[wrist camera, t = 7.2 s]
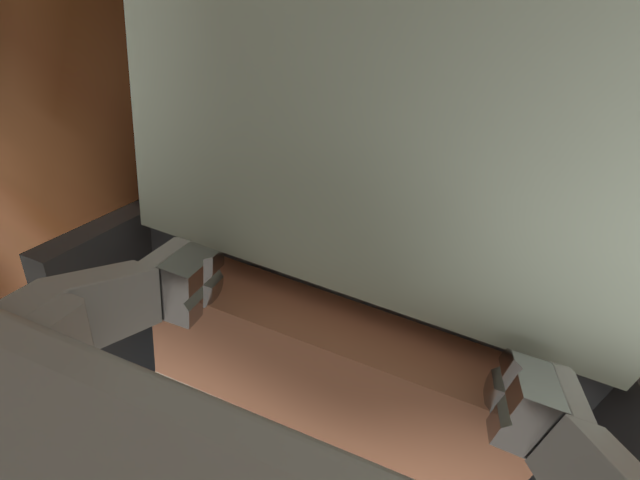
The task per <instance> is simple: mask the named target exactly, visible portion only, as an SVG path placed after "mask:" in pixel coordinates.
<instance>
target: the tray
mask: <svg viewBox="0 0 640 480" xmlns="http://www.w3.org/2000/svg"><path fill="white" fill-rule="evenodd" d="M174 237H176V236H173V235H170V234H167V233H165V232H162V231H159V230H156V229H153V228H150V227H147V226H144V225H141V217H140V204H139V200H137V201H135V202H132V203H130V204H128V205H126V206H124V207H121V208H119V209H117V210H115V211H113V212H111V213H108V214H106V215H104V216H102V217H100V218H97V219H95V220H93V221H91V222H89V223H86V224H84V225H82V226H80V227H78V228H76V229H73V230H71V231H69V232H67V233H65V234H62V235H60V236H58V237H56V238H54V239H51V240H49V241H47V242H45V243H43V244H41V245H38V246H36V247H34V248H32V249H30V250H27V251H25V252H23V253H21V254H19V255H20V259H21V262H22V266H23V269H24V273H25V276H26V280H27V283H28V284H29V283H31V282H32V281H34V280H36V279H38V278H44V277H49V276H54V275H59V274H64V273H69V272H74V271H79V270H84V269H89V268H94V267H100V266H105V265H110V264H115V263H120V262H125V261H130V260H135V261H139V260H141V259H142V258H144V257H145V256H147V255H148V254H150V253H151V252H153V251H154V250H156V249H157V248H159V247H160V246H162V245H163V244H165V243H166V242H168V241H169V240H171V239H172V238H174ZM222 253H223V252H222ZM223 254H224V256H225V257H227V258H230V259H233V260H236V261H239V262H242V263H245V264H248V265H251V266H254V267H257V268H260V269H262V270H265V271H268V272H271V273H274V274H277V275H280V276H283V277H286V278H289V279H292V280H295V281H297V282H300V283H303V284H306V285H309V286H312V287H315V288H318V289H321V290H324V291H327V292H330V293H332V294H335V295H338V296H341V297H344V298H347V299H350V300H353V301H356V302H359V303H362V304H365V305H367V306H370V307H373V308H376V309H379V310H382V311H385V312H388V313H391V314H394V315H397V316H400V317H402V318H405V319H408V320H411V321H414V322H417V323H420V324H423V325H426V326H429V327H432V328H435V329H437V330H440V331H443V332H446V333H449V334H452V335H455V336H458V337H461V338H464V339H467V340H470V341H472V342H475V343H478V344H481V345H484V346H487V347H490V348H493V349H496V350H499V351H502V352H503V351H504V350H505V349H502V348H499V347H496V346H493V345H490V344H487V343H484V342H482V341H479V340H476V339H473V338H470V337H467V336H464V335H461V334H458V333H455V332H453V331H450V330H447V329H444V328H441V327H438V326H435V325H432V324H429V323H426V322H423V321H421V320H418V319H415V318H412V317H409V316H406V315H403V314H400V313H397V312H394V311H391V310H389V309H386V308H383V307H380V306H377V305H374V304H371V303H368V302H365V301H362V300H359V299H357V298H354V297H351V296H348V295H345V294H342V293H339V292H336V291H333V290H330V289H327V288H325V287H322V286H319V285H316V284H313V283H310V282H307V281H304V280H301V279H298V278H295V277H293V276H290V275H287V274H284V273H281V272H278V271H275V270H272V269H269V268H266V267H263V266H261V265H258V264H255V263H252V262H249V261H246V260H243V259H240V258H237V257H234V256H231V255H229V254H226V253H223ZM101 350H103V351H106V352H108V353H110V354H113V355H115V356H118V357H120V358H123V359H125V360H127V361H130V362H132V363H135V364H137V365H139V366H142V367H144V368H147V369H149V370H152V371H154V372H155V358H154V345H153V331H152V327H149V328H147V329H145V330H143V331H140V332H138V333H136V334H133V335H131V336H129V337H126V338H124V339H122V340H119V341H117V342H115V343H113V344H110V345H108V346H106V347H103V348H101ZM576 375H577V378H578V380H579V382H580V385H581V387H582V389H583V392H584V394H585V396H586V398H587V401H588V403H589V405H590V408H591V410H592V412H593V415H594V417H595V419H596V421H597V424H598V425H600V426H602V427H605V428H606V429H607V430H608V431H609V432H610V433H611V434H612V435H613V436H614V437H615V438H616V439H617V440H618V441H619V442H620V443H621V444H622V445H623V446H624V447H625V448H626V449H627V450H628V451H629V452H630V453H631V454H632V455H633V456H634V457H635V458H636V459H637V460H638V461H639V462H640V378H639V379H638V380H637V381H636V382H635V383H634V384H633V385H632V386H631V387H630V388H629V389H628V390H627V391H624V390H621V389H618V388H615V387H612V386H610V385H607V384H604V383H601V382H598V381H595V380H592V379H589V378H586V377H583V376H580V375H578V374H576ZM529 480H536V479H535V477H534V475H532V476H531V477H530V478H529Z"/></svg>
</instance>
